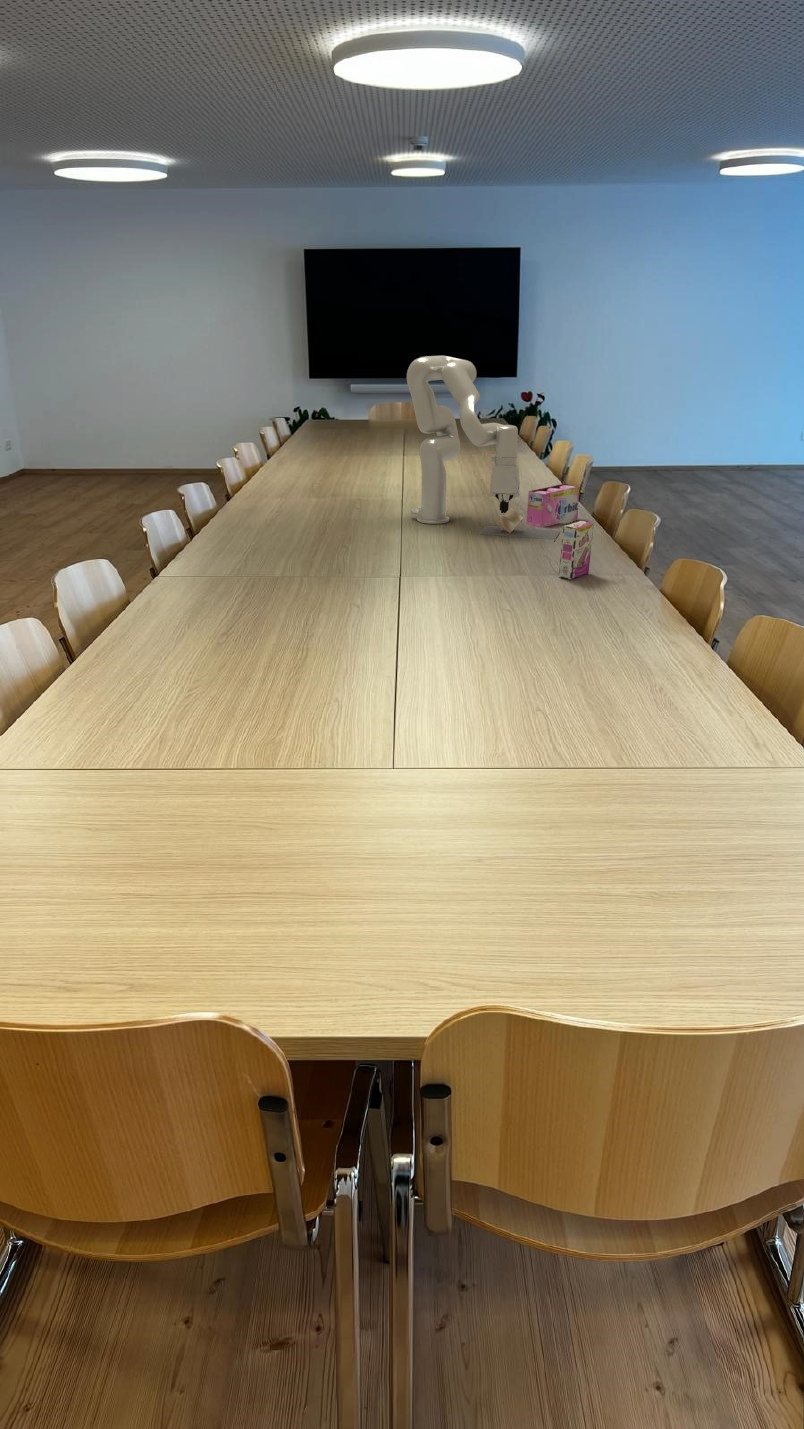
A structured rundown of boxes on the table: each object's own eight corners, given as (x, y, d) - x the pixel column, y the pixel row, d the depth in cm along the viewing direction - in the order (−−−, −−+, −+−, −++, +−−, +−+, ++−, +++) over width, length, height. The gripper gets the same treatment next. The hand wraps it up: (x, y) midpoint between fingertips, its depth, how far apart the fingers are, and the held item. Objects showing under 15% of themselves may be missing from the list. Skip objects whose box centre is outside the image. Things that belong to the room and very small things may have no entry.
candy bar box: (572, 580, 302) (576, 528, 296) (558, 577, 305) (562, 525, 299) (590, 573, 310) (594, 522, 304) (576, 570, 313) (580, 519, 307)
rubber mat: (477, 536, 355) (478, 533, 354) (485, 528, 367) (485, 525, 367) (554, 542, 348) (554, 539, 347) (560, 533, 360) (560, 530, 360)
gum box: (563, 517, 386) (566, 482, 380) (579, 520, 381) (582, 485, 375) (525, 526, 371) (527, 490, 365) (542, 530, 365) (544, 493, 360)
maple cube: (497, 522, 355) (507, 510, 352) (500, 519, 360) (510, 507, 357) (509, 533, 355) (520, 521, 352) (512, 530, 361) (523, 517, 358)
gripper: (483, 462, 347) (481, 513, 354) (524, 463, 343) (522, 515, 351) (487, 458, 354) (485, 509, 361) (528, 460, 350) (525, 511, 357)
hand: (503, 512), depth 356 cm, fingers closed
